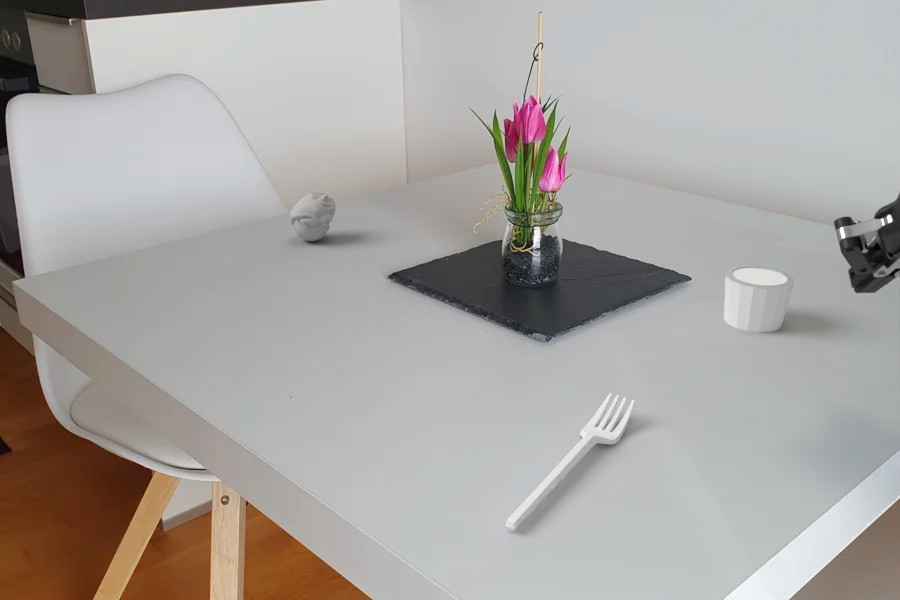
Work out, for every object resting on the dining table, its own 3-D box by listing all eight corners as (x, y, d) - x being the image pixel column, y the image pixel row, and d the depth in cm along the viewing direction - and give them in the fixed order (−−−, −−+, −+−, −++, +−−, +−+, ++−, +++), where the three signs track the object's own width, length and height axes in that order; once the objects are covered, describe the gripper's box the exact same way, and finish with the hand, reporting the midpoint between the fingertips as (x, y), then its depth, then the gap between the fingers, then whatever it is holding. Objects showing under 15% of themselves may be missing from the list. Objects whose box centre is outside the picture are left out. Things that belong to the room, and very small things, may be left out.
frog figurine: (346, 238, 121) (344, 191, 119) (307, 250, 117) (304, 201, 114) (320, 230, 125) (317, 184, 123) (281, 240, 120) (278, 193, 118)
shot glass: (761, 356, 86) (771, 292, 83) (704, 334, 91) (712, 274, 88) (796, 338, 90) (807, 277, 87) (740, 318, 95) (748, 260, 92)
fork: (489, 524, 61) (490, 502, 60) (604, 409, 76) (605, 390, 75) (529, 540, 59) (530, 518, 58) (638, 419, 74) (640, 400, 74)
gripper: (1078, 120, 54) (926, 240, 70) (881, 122, 54) (773, 243, 70) (1118, 222, 52) (950, 323, 68) (911, 226, 51) (791, 327, 67)
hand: (860, 282), depth 69 cm, fingers closed
